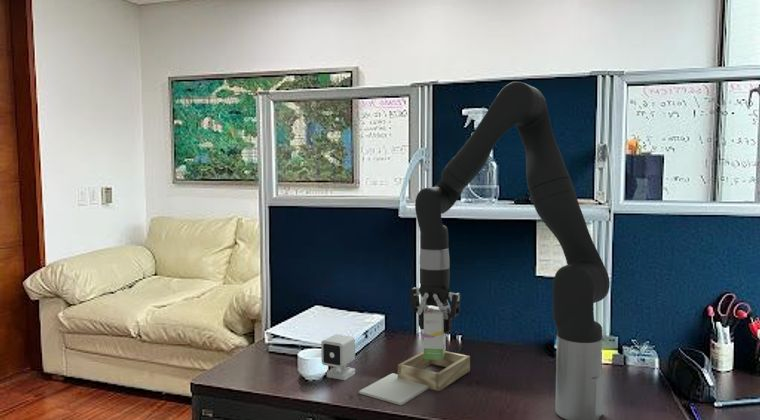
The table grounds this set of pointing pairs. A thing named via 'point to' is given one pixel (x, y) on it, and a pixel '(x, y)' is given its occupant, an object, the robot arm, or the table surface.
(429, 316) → the ink box
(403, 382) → the mat
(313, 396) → the table surface
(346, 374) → the security camera
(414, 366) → the wooden frame
